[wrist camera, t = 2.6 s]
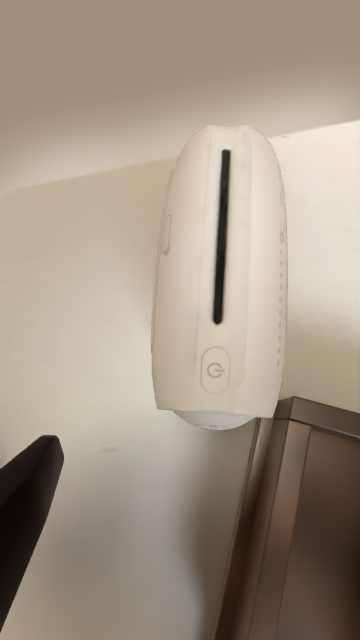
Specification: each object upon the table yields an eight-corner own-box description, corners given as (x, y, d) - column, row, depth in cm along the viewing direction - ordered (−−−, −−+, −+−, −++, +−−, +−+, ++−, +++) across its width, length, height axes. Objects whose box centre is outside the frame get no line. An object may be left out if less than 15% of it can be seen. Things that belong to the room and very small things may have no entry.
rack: (403, 775, 15) (493, 949, 10) (200, 687, 16) (193, 801, 11) (431, 444, 18) (508, 452, 13) (262, 397, 20) (276, 391, 15)
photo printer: (253, 428, 19) (310, 443, 7) (177, 421, 20) (118, 425, 8) (256, 262, 22) (302, 79, 10) (191, 260, 22) (161, 85, 11)
